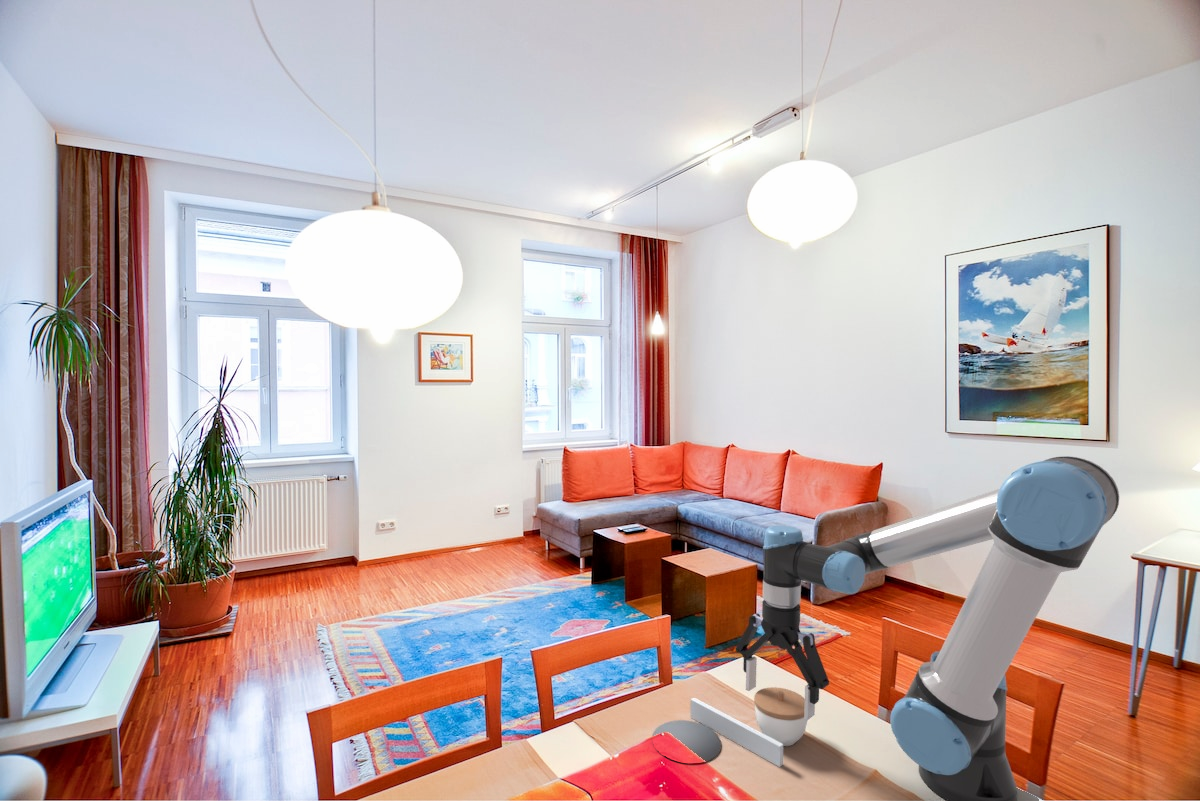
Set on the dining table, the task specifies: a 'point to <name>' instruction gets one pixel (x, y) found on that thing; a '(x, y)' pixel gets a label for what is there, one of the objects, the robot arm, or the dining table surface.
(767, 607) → the robot arm
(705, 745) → the gray round disc
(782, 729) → the lidded jar
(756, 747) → the low wall
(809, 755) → the dining table surface
